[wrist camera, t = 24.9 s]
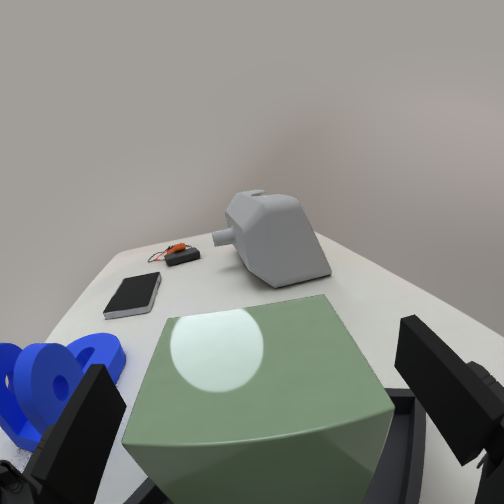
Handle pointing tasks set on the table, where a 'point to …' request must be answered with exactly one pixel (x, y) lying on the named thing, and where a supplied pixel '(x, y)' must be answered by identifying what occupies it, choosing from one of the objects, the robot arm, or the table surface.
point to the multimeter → (179, 254)
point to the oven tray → (389, 466)
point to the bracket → (48, 381)
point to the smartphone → (133, 296)
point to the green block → (260, 408)
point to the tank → (273, 238)
